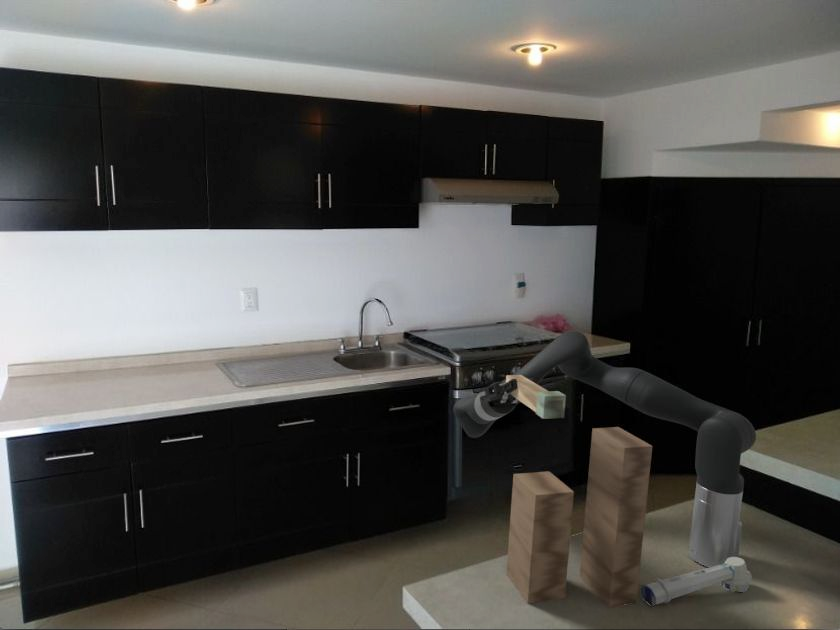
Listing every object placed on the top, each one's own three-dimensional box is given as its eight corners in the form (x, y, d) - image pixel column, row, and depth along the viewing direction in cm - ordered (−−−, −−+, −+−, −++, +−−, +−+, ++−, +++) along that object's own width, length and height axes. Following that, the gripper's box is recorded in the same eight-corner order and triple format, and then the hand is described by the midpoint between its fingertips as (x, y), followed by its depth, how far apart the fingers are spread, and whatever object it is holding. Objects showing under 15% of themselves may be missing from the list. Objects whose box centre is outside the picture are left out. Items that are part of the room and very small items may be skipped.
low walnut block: (541, 570, 132) (549, 471, 129) (564, 598, 122) (573, 491, 119) (506, 574, 130) (513, 474, 126) (527, 603, 120) (535, 495, 117)
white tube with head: (637, 578, 124) (737, 546, 131) (638, 608, 125) (737, 575, 133) (655, 593, 119) (757, 559, 126) (656, 624, 120) (757, 588, 128)
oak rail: (521, 390, 137) (523, 370, 136) (564, 417, 119) (565, 395, 118) (503, 390, 136) (504, 371, 135) (543, 418, 118) (544, 396, 117)
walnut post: (604, 572, 132) (618, 427, 127) (636, 603, 122) (652, 446, 117) (579, 575, 130) (592, 428, 126) (609, 607, 120) (624, 447, 115)
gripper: (464, 387, 146) (490, 366, 130) (520, 385, 150) (552, 365, 134) (468, 419, 143) (495, 401, 128) (524, 416, 147) (558, 399, 131)
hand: (524, 383), depth 131 cm, fingers closed on oak rail, 3 cm apart
